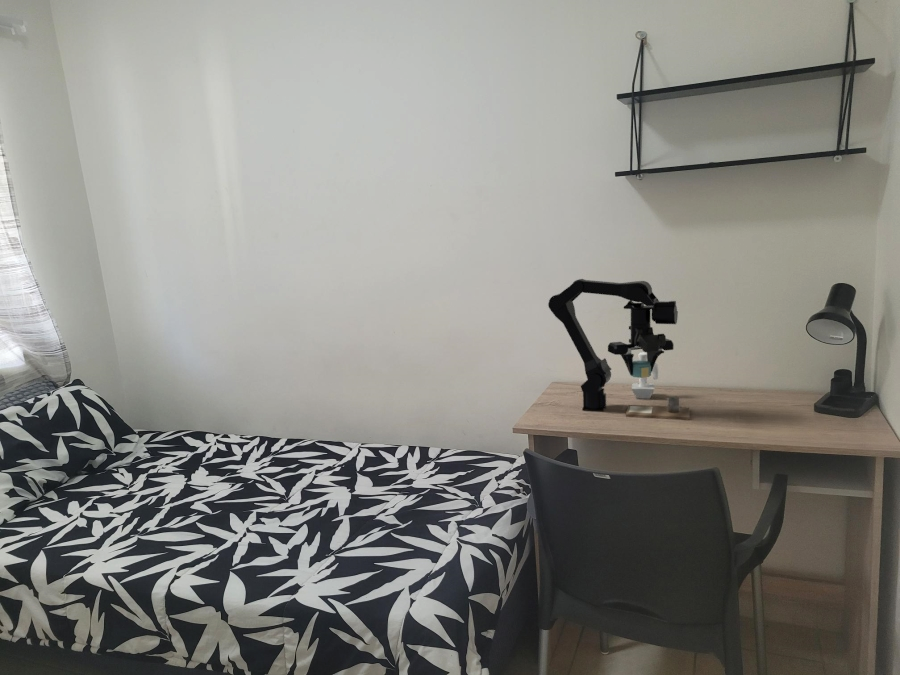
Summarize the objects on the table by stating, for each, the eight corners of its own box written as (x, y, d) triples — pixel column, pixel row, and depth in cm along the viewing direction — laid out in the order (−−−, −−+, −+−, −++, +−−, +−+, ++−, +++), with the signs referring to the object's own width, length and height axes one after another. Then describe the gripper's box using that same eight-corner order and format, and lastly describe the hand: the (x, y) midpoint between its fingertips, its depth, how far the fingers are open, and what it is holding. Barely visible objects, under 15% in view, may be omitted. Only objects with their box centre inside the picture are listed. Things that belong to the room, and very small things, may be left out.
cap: (627, 374, 191) (627, 361, 190) (644, 372, 192) (644, 359, 191) (636, 378, 185) (636, 365, 185) (653, 376, 186) (653, 363, 185)
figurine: (658, 400, 202) (658, 355, 200) (628, 399, 205) (627, 355, 203) (658, 394, 209) (658, 350, 206) (629, 393, 212) (628, 350, 209)
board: (625, 416, 187) (625, 400, 186) (628, 407, 197) (628, 392, 196) (689, 419, 181) (689, 403, 180) (689, 410, 190) (689, 394, 189)
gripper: (622, 329, 176) (622, 382, 179) (683, 324, 179) (682, 377, 182) (606, 324, 187) (607, 374, 190) (664, 319, 190) (664, 369, 193)
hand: (640, 373), depth 188 cm, fingers closed on cap, 6 cm apart
